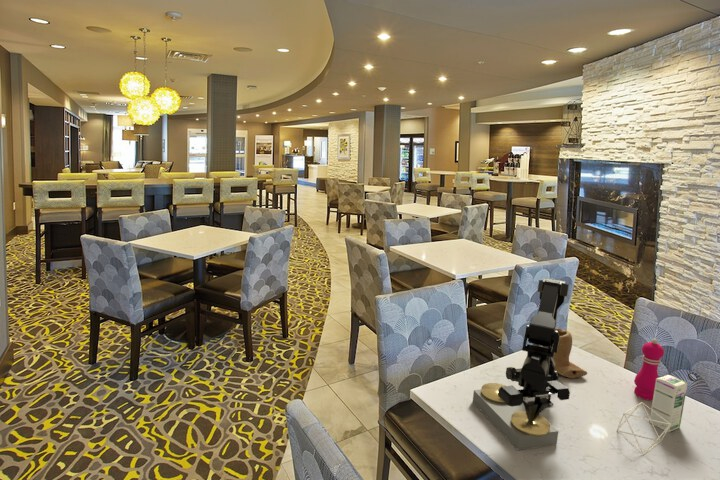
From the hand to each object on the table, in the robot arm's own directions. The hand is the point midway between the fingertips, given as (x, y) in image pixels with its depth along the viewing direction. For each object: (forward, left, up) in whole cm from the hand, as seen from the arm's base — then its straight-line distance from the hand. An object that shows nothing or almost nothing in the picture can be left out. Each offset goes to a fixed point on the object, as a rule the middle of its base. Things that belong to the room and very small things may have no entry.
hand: (530, 421), depth 125 cm
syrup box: (-44, +3, -5) cm, 44 cm away
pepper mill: (-53, -12, -5) cm, 55 cm away
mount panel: (0, -8, -5) cm, 9 cm away
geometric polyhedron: (-30, +8, -6) cm, 32 cm away
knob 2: (0, 0, -5) cm, 5 cm away
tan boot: (-36, -33, -6) cm, 49 cm away
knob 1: (0, -16, -5) cm, 17 cm away
